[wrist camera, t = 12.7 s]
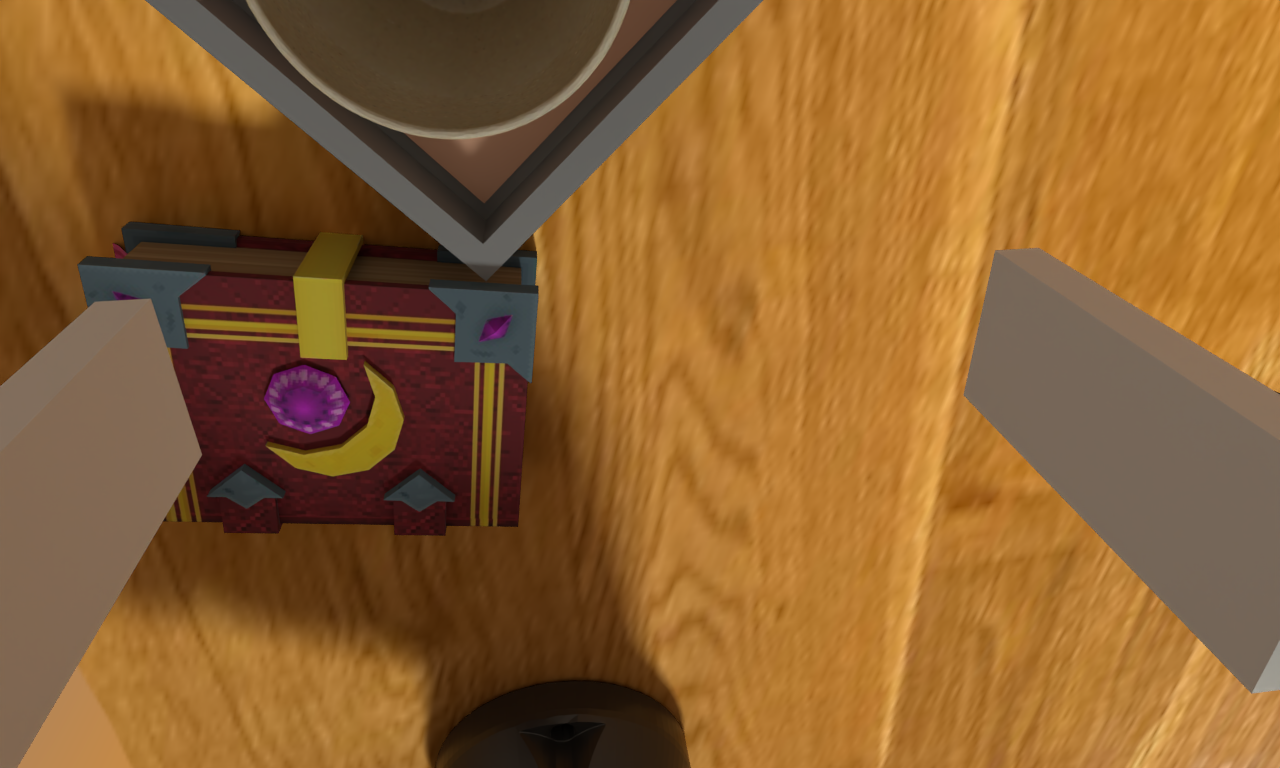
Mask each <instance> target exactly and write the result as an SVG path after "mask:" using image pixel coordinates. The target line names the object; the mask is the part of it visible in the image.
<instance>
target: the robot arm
mask: <svg viewBox="0 0 1280 768" xmlns="http://www.w3.org/2000/svg"><path fill="white" fill-rule="evenodd" d="M964 396H965V397H966V398H967V399H968V400H969V401H970V402H971V403H972V404H973V405H974V406H975V407H976V408H977V410H978V411H979V412H980V413H981V414H982V415H983V416H984V417H985V418H986V419H987V420H988V421H989V422H990V423H991V424H992V425H993V426H994V427H995V428H996V429H997V430H998V431H999V432H1000V433H1001V434H1002V435H1003V436H1004V437H1005V439H1006V440H1007V441H1008V442H1009V443H1010V444H1011V445H1012V446H1013V447H1014V448H1015V449H1016V450H1017V451H1018V452H1019V453H1020V454H1021V455H1022V456H1023V457H1024V458H1025V459H1026V460H1027V461H1028V462H1029V463H1030V464H1031V465H1032V467H1033V468H1034V469H1035V470H1036V471H1037V472H1038V473H1039V474H1040V475H1041V476H1042V477H1043V478H1044V479H1045V480H1046V481H1047V482H1048V483H1049V484H1050V485H1051V486H1052V487H1053V488H1054V489H1055V490H1056V491H1057V492H1058V493H1059V494H1060V496H1061V497H1062V498H1063V499H1064V500H1065V501H1066V502H1067V503H1068V504H1069V505H1070V506H1071V507H1072V508H1073V509H1074V510H1075V511H1076V512H1077V513H1078V514H1079V515H1080V516H1081V517H1082V518H1083V519H1084V520H1085V521H1086V522H1087V523H1088V525H1089V526H1090V527H1091V528H1092V529H1093V530H1094V531H1095V532H1096V533H1097V534H1098V535H1099V536H1100V537H1101V538H1102V539H1103V540H1104V541H1105V542H1106V543H1107V544H1108V545H1109V546H1110V547H1111V548H1112V549H1113V550H1114V551H1115V553H1116V554H1117V555H1118V556H1119V557H1120V558H1121V559H1122V560H1123V561H1124V562H1125V563H1126V564H1127V565H1128V566H1129V567H1130V568H1131V569H1132V570H1133V571H1134V572H1135V573H1136V574H1137V575H1138V576H1139V577H1140V578H1141V579H1142V580H1143V582H1144V583H1145V584H1146V585H1147V586H1148V587H1149V588H1150V589H1151V590H1152V591H1153V592H1154V593H1155V594H1156V595H1157V596H1158V597H1159V598H1160V599H1161V600H1162V601H1163V602H1164V603H1165V604H1166V605H1167V606H1168V607H1169V608H1170V609H1171V611H1172V612H1173V613H1174V614H1175V615H1176V616H1177V617H1178V618H1179V619H1180V620H1181V621H1182V622H1183V623H1184V624H1185V625H1186V626H1187V627H1188V628H1189V629H1190V630H1191V631H1192V632H1193V633H1194V634H1195V635H1196V636H1197V637H1198V639H1199V640H1200V641H1201V642H1202V643H1203V644H1204V645H1205V646H1206V647H1207V648H1208V649H1209V650H1210V651H1211V652H1212V653H1213V654H1214V655H1215V656H1216V657H1217V658H1218V659H1219V660H1220V661H1221V662H1222V663H1223V664H1224V665H1225V666H1226V668H1227V669H1228V670H1229V671H1230V672H1231V673H1232V674H1233V675H1234V676H1235V677H1236V678H1237V679H1238V680H1239V681H1240V682H1241V683H1242V684H1243V685H1244V686H1245V687H1246V688H1247V689H1248V690H1249V691H1250V692H1251V693H1259V692H1267V691H1275V690H1280V393H1278V392H1276V391H1273V390H1271V389H1270V388H1268V387H1267V386H1265V385H1263V384H1262V383H1260V382H1258V381H1257V380H1255V379H1253V378H1252V377H1250V376H1248V375H1247V374H1245V373H1244V372H1242V371H1240V370H1239V369H1237V368H1235V367H1234V366H1232V365H1230V364H1229V363H1227V362H1225V361H1224V360H1222V359H1220V358H1219V357H1217V356H1216V355H1214V354H1212V353H1211V352H1209V351H1207V350H1206V349H1204V348H1202V347H1201V346H1199V345H1197V344H1196V343H1194V342H1193V341H1191V340H1189V339H1188V338H1186V337H1184V336H1183V335H1181V334H1179V333H1178V332H1176V331H1174V330H1173V329H1171V328H1170V327H1168V326H1166V325H1165V324H1163V323H1161V322H1160V321H1158V320H1156V319H1155V318H1153V317H1151V316H1150V315H1148V314H1146V313H1145V312H1143V311H1142V310H1140V309H1138V308H1137V307H1135V306H1133V305H1132V304H1130V303H1128V302H1127V301H1125V300H1123V299H1122V298H1120V297H1119V296H1117V295H1115V294H1114V293H1112V292H1110V291H1109V290H1107V289H1105V288H1104V287H1102V286H1100V285H1099V284H1097V283H1095V282H1094V281H1092V280H1091V279H1089V278H1087V277H1086V276H1084V275H1082V274H1081V273H1079V272H1077V271H1076V270H1074V269H1072V268H1071V267H1069V266H1068V265H1066V264H1064V263H1063V262H1061V261H1059V260H1058V259H1056V258H1054V257H1053V256H1051V255H1049V254H1048V253H1046V252H1045V251H1043V250H1041V249H1040V248H1030V249H1012V250H995V254H994V259H993V263H992V268H991V272H990V277H989V281H988V286H987V291H986V295H985V300H984V304H983V309H982V314H981V318H980V323H979V327H978V332H977V336H976V341H975V346H974V350H973V355H972V359H971V364H970V369H969V373H968V378H967V382H966V387H965V391H964ZM201 456H202V453H201V450H200V447H199V444H198V441H197V438H196V435H195V432H194V429H193V426H192V423H191V419H190V416H189V413H188V410H187V407H186V404H185V401H184V398H183V395H182V392H181V389H180V386H179V383H178V380H177V377H176V374H175V371H174V368H173V365H172V362H171V359H170V356H169V353H168V349H167V346H166V343H165V340H164V337H163V334H162V331H161V328H160V325H159V322H158V319H157V316H156V313H155V310H154V307H153V304H152V301H151V299H135V300H118V301H100V302H94V303H93V304H92V305H91V306H90V307H88V308H87V309H86V310H85V311H84V312H83V313H82V314H81V315H79V316H78V317H77V318H76V319H75V320H74V321H73V322H72V323H71V324H69V325H68V326H67V327H66V328H65V329H64V330H63V331H62V332H60V333H59V334H58V335H57V336H56V337H55V338H54V339H53V340H51V341H50V342H49V343H48V344H47V345H46V346H45V347H44V348H43V349H41V350H40V351H39V352H38V353H37V354H36V355H35V356H34V357H32V358H31V359H30V360H29V361H28V362H27V363H26V364H25V365H23V366H22V367H21V368H20V369H19V370H18V371H17V372H16V373H14V374H13V375H12V376H11V377H10V378H9V379H8V380H7V381H6V382H4V383H3V384H2V385H1V386H0V768H17V767H18V765H19V764H20V762H21V760H22V759H23V757H24V755H25V754H26V752H27V750H28V748H29V747H30V745H31V743H32V742H33V740H34V738H35V737H36V735H37V733H38V732H39V730H40V728H41V726H42V724H43V723H44V721H45V720H46V718H47V716H48V715H49V713H50V711H51V710H52V708H53V706H54V704H55V703H56V701H57V699H58V698H59V696H60V694H61V693H62V691H63V689H64V688H65V686H66V684H67V682H68V681H69V679H70V677H71V676H72V674H73V672H74V671H75V669H76V667H77V666H78V664H79V662H80V661H81V659H82V657H83V655H84V654H85V652H86V650H87V649H88V647H89V645H90V644H91V642H92V640H93V639H94V637H95V635H96V633H97V632H98V630H99V628H100V627H101V625H102V623H103V622H104V620H105V618H106V617H107V615H108V613H109V611H110V610H111V608H112V606H113V605H114V603H115V601H116V600H117V598H118V596H119V595H120V593H121V591H122V589H123V588H124V586H125V584H126V583H127V581H128V579H129V578H130V576H131V574H132V573H133V571H134V569H135V567H136V566H137V564H138V562H139V561H140V559H141V557H142V556H143V554H144V552H145V551H146V549H147V547H148V545H149V544H150V542H151V540H152V539H153V537H154V535H155V534H156V532H157V530H158V529H159V527H160V525H161V524H162V522H163V520H164V518H165V517H166V515H167V513H168V512H169V510H170V508H171V507H172V505H173V503H174V502H175V500H176V498H177V496H178V495H179V493H180V491H181V490H182V488H183V486H184V485H185V483H186V481H187V480H188V478H189V476H190V474H191V473H192V471H193V469H194V468H195V466H196V464H197V463H198V461H199V459H200V458H201ZM436 768H691V767H690V762H689V756H688V751H687V746H686V741H685V737H684V733H683V731H682V729H681V727H680V725H679V723H678V722H677V720H676V719H675V718H674V716H673V715H672V714H671V713H670V712H669V711H668V710H667V709H666V708H665V707H663V706H662V705H661V704H659V703H658V702H656V701H655V700H653V699H652V698H650V697H648V696H646V695H644V694H642V693H639V692H637V691H634V690H631V689H628V688H625V687H621V686H617V685H612V684H607V683H599V682H588V681H567V682H555V683H548V684H542V685H536V686H532V687H528V688H524V689H521V690H517V691H514V692H511V693H509V694H506V695H504V696H501V697H499V698H497V699H494V700H492V701H490V702H488V703H487V704H485V705H483V706H481V707H480V708H478V709H477V710H475V711H474V712H472V713H471V714H469V715H468V716H467V717H466V718H464V719H463V720H462V721H461V722H460V723H459V724H458V725H457V726H456V727H455V728H454V729H453V730H452V731H451V733H450V734H449V735H448V737H447V738H446V740H445V741H444V743H443V745H442V747H441V749H440V751H439V754H438V757H437V762H436Z"/></svg>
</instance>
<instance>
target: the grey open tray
mask: <svg viewBox="0 0 1280 768" xmlns="http://www.w3.org/2000/svg"><path fill="white" fill-rule="evenodd" d="M146 1H147V2H148V3H149V4H150V5H152V6H153V7H154V8H155V9H157V10H158V11H159V12H160V13H161V14H163V15H164V16H165V17H166V18H167V19H169V20H170V21H171V22H172V23H174V24H175V25H176V26H177V27H178V28H180V29H181V30H182V31H183V32H184V33H186V34H187V35H188V36H189V37H190V38H192V39H193V40H194V41H195V42H197V43H198V44H199V45H200V46H201V47H203V48H204V49H205V50H206V51H207V52H209V53H210V54H211V55H212V56H214V57H215V58H216V59H217V60H218V61H220V62H221V63H222V64H223V65H224V66H226V67H227V68H228V69H229V70H230V71H232V72H233V73H234V74H235V75H237V76H238V77H239V78H240V79H241V80H243V81H244V82H245V83H246V84H247V85H249V86H250V87H251V88H252V89H254V90H255V91H256V92H257V93H258V94H260V95H261V96H262V97H263V98H264V99H266V100H267V101H268V102H269V103H271V104H272V105H273V106H274V107H275V108H277V109H278V110H279V111H280V112H281V113H283V114H284V115H285V116H286V117H287V118H289V119H290V120H291V121H292V122H294V123H295V124H296V125H297V126H298V127H300V128H301V129H302V130H303V131H304V132H306V133H307V134H308V135H309V136H311V137H312V138H313V139H314V140H315V141H317V142H318V143H319V144H320V145H321V146H323V147H324V148H325V149H326V150H327V151H329V152H330V153H331V154H332V155H334V156H335V157H336V158H337V159H338V160H340V161H341V162H342V163H343V164H344V165H346V166H347V167H348V168H349V169H351V170H352V171H353V172H354V173H355V174H357V175H358V176H359V177H360V178H361V179H363V180H364V181H365V182H366V183H367V184H369V185H370V186H371V187H372V188H374V189H375V190H376V191H377V192H378V193H380V194H381V195H382V196H383V197H384V198H386V199H387V200H388V201H389V202H391V203H392V204H393V205H394V206H395V207H397V208H398V209H399V210H400V211H401V212H403V213H404V214H405V215H406V216H407V217H409V218H410V219H411V220H412V221H414V222H415V223H416V224H417V225H418V226H420V227H421V228H422V229H423V230H424V231H426V232H427V233H428V234H429V235H431V236H432V237H433V238H434V239H435V240H437V241H438V242H439V243H440V244H441V245H443V246H444V247H445V248H446V249H447V250H449V251H450V252H451V253H452V254H454V255H455V256H456V257H457V258H458V259H460V260H461V261H462V262H463V263H464V264H466V265H467V266H468V267H469V268H471V269H472V270H473V271H474V272H475V273H477V274H478V275H479V276H480V277H481V278H483V279H484V280H485V281H487V280H488V279H489V278H490V277H491V276H492V275H493V274H494V273H495V272H496V271H497V270H498V269H499V268H500V267H501V266H502V265H503V264H504V263H505V262H506V261H507V260H508V259H509V258H510V257H511V256H512V255H513V254H514V252H515V251H516V250H517V249H518V248H519V247H520V246H521V245H522V244H523V243H524V242H525V241H526V240H527V239H528V238H529V237H530V236H531V235H532V234H533V233H534V232H535V231H536V230H537V229H538V228H539V227H540V226H541V225H542V224H543V223H544V222H545V221H546V220H547V219H548V218H549V217H550V216H551V215H552V214H553V213H554V212H555V211H556V210H557V209H558V208H559V207H560V206H561V205H562V204H563V203H564V202H565V201H566V200H567V199H568V198H569V197H570V196H571V195H572V194H573V193H574V192H575V191H576V190H577V189H578V188H579V187H580V186H581V185H582V184H583V183H584V181H585V180H586V179H587V178H588V177H589V176H590V175H591V174H592V173H593V172H594V171H595V170H596V169H597V168H598V167H599V166H600V165H601V164H602V163H603V162H604V161H605V160H606V159H607V158H608V157H609V156H610V155H611V154H612V153H613V152H614V151H615V150H616V149H617V148H618V147H619V146H620V145H621V144H622V143H623V142H624V141H625V140H626V139H627V138H628V137H629V136H630V135H631V134H632V133H633V132H634V131H635V130H636V129H637V128H638V127H639V126H640V125H641V124H642V123H643V122H644V121H645V120H646V119H647V118H648V117H649V116H650V115H651V114H652V113H653V111H654V110H655V109H656V108H657V107H658V106H659V105H660V104H661V103H662V102H663V101H664V100H665V99H666V98H667V97H668V96H669V95H670V94H671V93H672V92H673V91H674V90H675V89H676V88H677V87H678V86H679V85H680V84H681V83H682V82H683V81H684V80H685V79H686V78H687V77H688V76H689V75H690V74H691V73H692V72H693V71H694V70H695V69H696V68H697V67H698V66H699V65H700V64H701V63H702V62H703V61H704V60H705V59H706V58H707V57H708V56H709V55H710V54H711V53H712V52H713V51H714V50H715V49H716V48H717V47H718V46H719V45H720V44H721V43H722V42H723V40H724V39H725V38H726V37H727V36H728V35H729V34H730V33H731V32H732V31H733V30H734V29H735V28H736V27H737V26H738V25H739V24H740V23H741V22H742V21H743V20H744V19H745V18H746V17H747V16H748V15H749V14H750V13H751V12H752V11H753V10H754V9H755V8H756V7H757V6H758V5H759V4H760V3H761V2H762V1H763V0H630V3H629V6H628V9H627V12H626V14H625V17H624V19H623V22H622V24H621V27H620V29H619V31H618V33H617V35H616V37H615V39H614V41H613V43H612V45H611V47H610V48H609V50H608V52H607V53H606V55H605V57H604V58H603V60H602V61H601V62H600V64H599V65H598V66H597V68H596V69H595V70H594V71H593V73H592V74H591V75H590V77H589V78H588V79H587V80H586V81H585V82H584V83H583V84H582V85H581V86H580V87H579V89H578V90H577V91H575V92H574V93H573V94H572V95H571V96H570V97H569V98H568V99H566V100H565V101H564V102H562V103H561V104H560V105H558V106H557V107H556V108H554V109H553V110H551V111H549V112H548V113H546V114H544V115H543V116H541V117H539V118H538V119H536V120H534V121H532V122H530V123H528V124H525V125H523V126H520V127H518V128H515V129H512V130H510V131H507V132H503V133H500V134H496V135H491V136H485V137H478V138H471V139H437V138H428V137H421V136H416V135H411V134H407V133H403V132H400V131H397V130H393V129H390V128H388V127H385V126H382V125H379V124H377V123H375V122H372V121H370V120H368V119H366V118H363V117H361V116H360V115H358V114H356V113H354V112H351V111H349V110H348V109H346V108H345V107H343V106H341V105H340V104H338V103H337V102H335V101H334V100H332V99H331V98H329V97H328V96H327V95H326V94H324V93H323V92H322V91H320V90H319V89H318V88H317V87H315V86H314V85H313V84H312V83H310V82H309V81H308V80H307V79H306V78H305V77H304V76H303V75H302V74H301V73H299V72H298V71H297V70H296V69H295V67H294V66H293V65H292V64H291V63H290V62H289V61H288V60H287V59H286V58H285V57H284V56H283V54H282V53H281V52H280V51H279V50H278V49H277V47H276V46H275V45H274V43H273V42H272V41H271V39H270V38H269V37H268V35H267V34H266V32H265V31H264V30H263V28H262V27H261V25H260V24H259V22H258V21H257V19H256V18H255V16H254V14H253V13H252V11H251V9H250V8H249V6H248V4H247V2H246V0H146Z"/></svg>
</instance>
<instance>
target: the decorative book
mask: <svg viewBox="0 0 1280 768" xmlns="http://www.w3.org/2000/svg"><path fill="white" fill-rule="evenodd" d="M121 229H122V234H123V238H124V243H125V248H126V253H125V251H124V250H123V249H122V248H121V247H120V246H118V245H116V244H114V243H113V248H114V253H115V257H116V258H106V257H92V256H87V257H86V258H85V259H83V260H82V261H81V262H80V263H79V264H77V265H78V269H79V273H80V277H81V281H82V285H83V289H84V294H85V298H86V302H87V306H88V307H90V306H91V305H92V304H93V303H94V302H100V301H118V300H135V299H151V301H152V304H153V307H154V310H155V313H156V316H157V319H158V322H159V325H160V328H161V331H162V334H163V337H164V340H165V343H166V346H167V349H168V353H169V356H170V359H171V362H172V365H173V368H174V371H175V374H176V377H177V380H178V383H179V386H180V389H181V392H182V395H183V398H184V401H185V404H186V407H187V410H188V413H189V416H190V419H191V423H192V426H193V429H194V432H195V435H196V438H197V441H198V444H199V447H200V450H201V453H202V456H201V458H200V459H199V461H198V463H197V464H196V466H195V468H194V469H193V471H192V473H191V474H190V476H189V478H188V480H187V481H186V483H185V485H184V486H183V488H182V490H181V491H180V493H179V495H178V496H177V498H176V500H175V502H174V503H173V505H172V507H171V508H170V510H169V512H168V513H167V515H166V517H165V518H164V520H163V521H172V522H223V527H224V533H279V531H280V529H281V526H282V524H283V523H304V524H370V525H394V534H395V535H442V536H445V534H446V526H503V527H518V520H519V505H520V490H521V475H522V459H523V444H524V429H525V414H526V399H527V384H528V382H530V383H532V372H533V359H534V346H535V333H536V320H537V307H538V286H535V280H536V266H537V251H523V250H516V251H515V252H514V254H513V255H512V256H511V257H510V258H509V259H508V260H507V261H506V262H505V263H504V264H503V265H502V266H501V267H500V268H499V269H498V270H497V271H496V272H495V273H494V274H493V275H492V276H491V277H490V278H489V279H488V280H487V281H485V280H484V279H483V278H481V277H480V276H479V275H478V274H477V273H475V272H474V271H473V270H472V269H471V268H469V267H468V266H467V265H466V264H464V263H463V262H462V261H461V260H460V259H458V258H457V257H456V256H455V255H454V254H452V253H451V252H450V251H449V250H447V249H446V248H445V247H444V246H443V245H439V246H438V250H432V249H418V248H404V247H390V246H376V245H363V235H354V234H340V233H327V232H320V233H319V235H318V236H317V238H316V240H315V241H306V240H292V239H278V238H264V237H250V236H239V235H240V231H239V230H227V229H214V228H202V227H189V226H177V225H164V224H152V223H139V222H129V223H127V224H126V225H125V226H124V227H122V228H121Z"/></svg>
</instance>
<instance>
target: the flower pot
mask: <svg viewBox="0 0 1280 768" xmlns="http://www.w3.org/2000/svg"><path fill="white" fill-rule="evenodd" d="M246 2H247V4H248V6H249V8H250V9H251V11H252V13H253V14H254V16H255V18H256V19H257V21H258V22H259V24H260V25H261V27H262V28H263V30H264V31H265V32H266V34H267V35H268V37H269V38H270V39H271V41H272V42H273V43H274V45H275V46H276V47H277V49H278V50H279V51H280V52H281V53H282V54H283V56H284V57H285V58H286V59H287V60H288V61H289V62H290V63H291V64H292V65H293V66H294V67H295V69H296V70H297V71H298V72H299V73H301V74H302V75H303V76H304V77H305V78H306V79H307V80H308V81H309V82H310V83H312V84H313V85H314V86H315V87H317V88H318V89H319V90H320V91H322V92H323V93H324V94H326V95H327V96H328V97H329V98H331V99H332V100H334V101H335V102H337V103H338V104H340V105H341V106H343V107H345V108H346V109H348V110H349V111H351V112H354V113H356V114H358V115H360V116H361V117H363V118H366V119H368V120H370V121H372V122H375V123H377V124H379V125H382V126H385V127H388V128H390V129H393V130H397V131H400V132H403V133H407V134H411V135H416V136H421V137H428V138H437V139H471V138H478V137H485V136H491V135H496V134H500V133H503V132H507V131H510V130H512V129H515V128H518V127H520V126H523V125H525V124H528V123H530V122H532V121H534V120H536V119H538V118H539V117H541V116H543V115H544V114H546V113H548V112H549V111H551V110H553V109H554V108H556V107H557V106H558V105H560V104H561V103H562V102H564V101H565V100H566V99H568V98H569V97H570V96H571V95H572V94H573V93H574V92H575V91H577V90H578V89H579V87H580V86H581V85H582V84H583V83H584V82H585V81H586V80H587V79H588V78H589V77H590V75H591V74H592V73H593V71H594V70H595V69H596V68H597V66H598V65H599V64H600V62H601V61H602V60H603V58H604V57H605V55H606V53H607V52H608V50H609V48H610V47H611V45H612V43H613V41H614V39H615V37H616V35H617V33H618V31H619V29H620V27H621V24H622V22H623V19H624V17H625V14H626V12H627V9H628V6H629V3H630V0H246Z"/></svg>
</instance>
